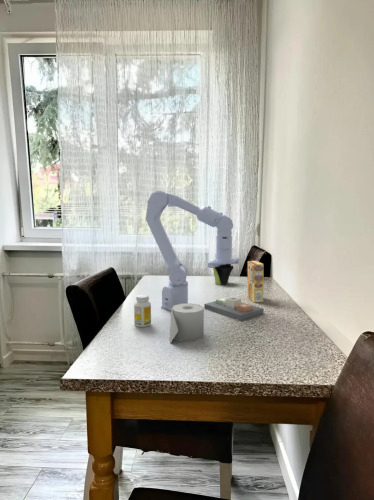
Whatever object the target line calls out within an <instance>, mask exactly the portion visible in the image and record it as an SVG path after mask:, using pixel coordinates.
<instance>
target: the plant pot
mask: <svg viewBox="0 0 374 500" xmlns="http://www.w3.org/2000/svg"><path fill="white" fill-rule="evenodd" d="M212 270H213V274H214V275H213V276H214V282H215V285H217V286H218V285H219V286H222V285H221V283H220V279H219V276H218V273H217V271H216V269H215V267H213V268H212ZM229 280H230V278H229V279H228V282H227V285H228V284H229Z"/></svg>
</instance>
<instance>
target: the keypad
mask: <svg viewBox="0 0 374 500" xmlns="http://www.w3.org/2000/svg"><path fill="white" fill-rule="evenodd" d="M241 304H247V305H251V306H252V310H251V311H247V312H242V311H239V310H236V308H235V309H233V308H229V307H226V305H224V306H223V305H219V304H216V300H215V301H212V302H206V303H204V306H203V307H204V310H206V311H211V312H212V313H213V312H214V313H217V314H220V315H223V316H226V317H228V318H231V319H235V320H236V321H237V320H238V321H244V320H247V319H250V318H254V317H257V316H260V315H264V310H265V309H264V308H263V307H260V306H256V305H253V304H249V303H245V302H242V301H241Z"/></svg>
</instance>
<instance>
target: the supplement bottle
mask: <svg viewBox="0 0 374 500" xmlns="http://www.w3.org/2000/svg"><path fill="white" fill-rule="evenodd" d="M149 299H150V296H149V295H148V294H145V293H144V294H143V293H142V294H137V295H136V297H135V300H136V301H135V302H134V305H133V307H134V308H133V310H134V311H133V313H134V315H133V316H134V326H135V327H139V328H146V327H149V326H151V324H152V304H151V302H150V301H149Z"/></svg>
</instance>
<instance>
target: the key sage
mask: <svg viewBox="0 0 374 500" xmlns="http://www.w3.org/2000/svg"><path fill="white" fill-rule="evenodd" d="M226 298H227V297H220V298H217V299H215V301H216V304H219V305H223V306H224V305H226Z"/></svg>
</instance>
